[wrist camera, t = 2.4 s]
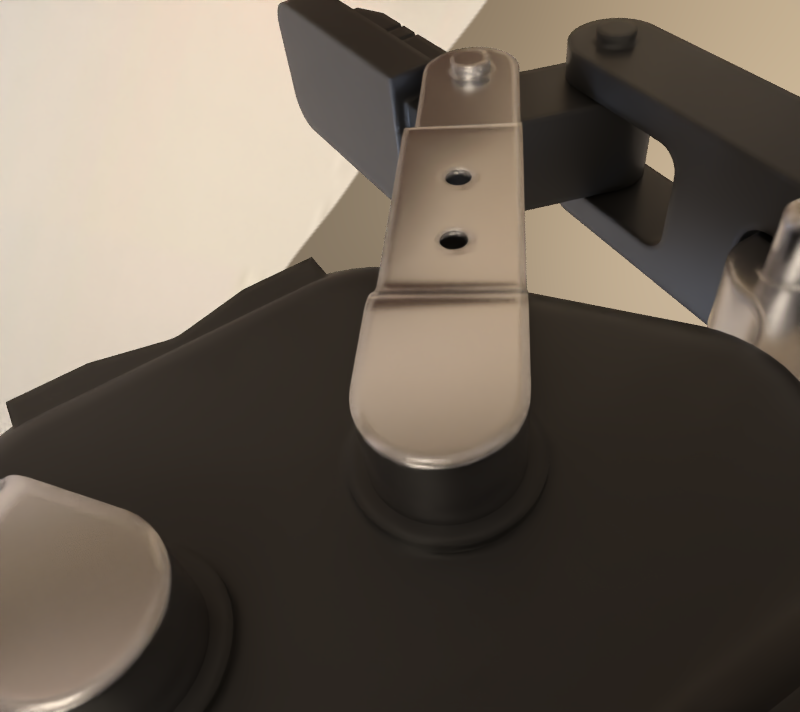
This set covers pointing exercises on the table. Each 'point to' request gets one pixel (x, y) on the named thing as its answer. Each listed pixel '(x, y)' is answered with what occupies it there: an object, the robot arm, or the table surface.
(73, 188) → the table surface
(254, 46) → the table surface
